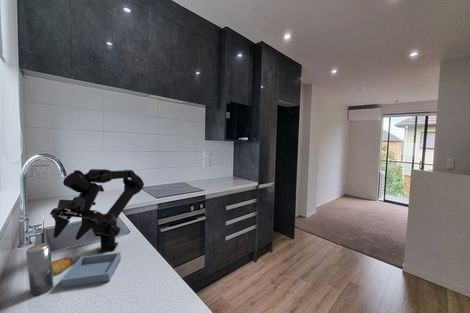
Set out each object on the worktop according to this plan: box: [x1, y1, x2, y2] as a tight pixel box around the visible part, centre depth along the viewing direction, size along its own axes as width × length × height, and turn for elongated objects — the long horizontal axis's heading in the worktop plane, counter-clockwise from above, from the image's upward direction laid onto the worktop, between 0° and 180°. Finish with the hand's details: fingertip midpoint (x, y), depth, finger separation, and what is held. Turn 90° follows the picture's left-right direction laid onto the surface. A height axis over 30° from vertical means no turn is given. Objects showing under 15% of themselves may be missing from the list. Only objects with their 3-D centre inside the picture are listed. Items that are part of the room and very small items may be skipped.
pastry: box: [51, 257, 74, 277], centre depth 80 cm, size 9×7×4 cm
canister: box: [25, 242, 54, 297], centre depth 69 cm, size 6×6×15 cm
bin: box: [60, 252, 122, 289], centre depth 78 cm, size 14×14×3 cm
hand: (65, 238), depth 75 cm, fingers open, 9 cm apart
